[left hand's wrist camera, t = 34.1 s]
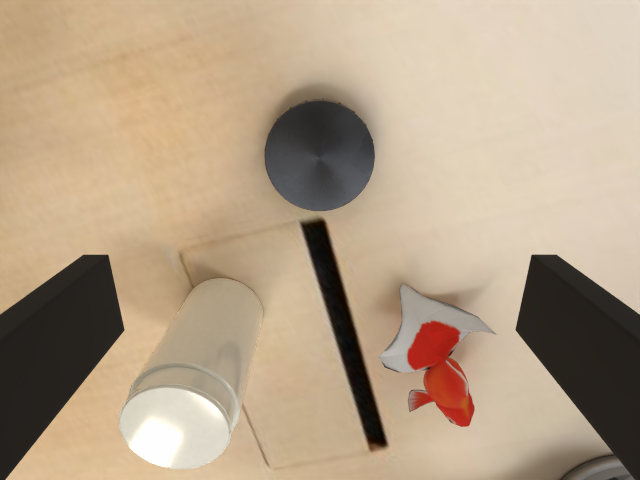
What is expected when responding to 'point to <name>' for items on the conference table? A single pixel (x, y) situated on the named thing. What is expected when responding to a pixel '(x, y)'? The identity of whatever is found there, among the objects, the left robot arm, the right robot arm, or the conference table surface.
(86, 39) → the conference table surface
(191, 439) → the jar
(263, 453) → the conference table surface
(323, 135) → the lid
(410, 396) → the fish
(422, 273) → the conference table surface
